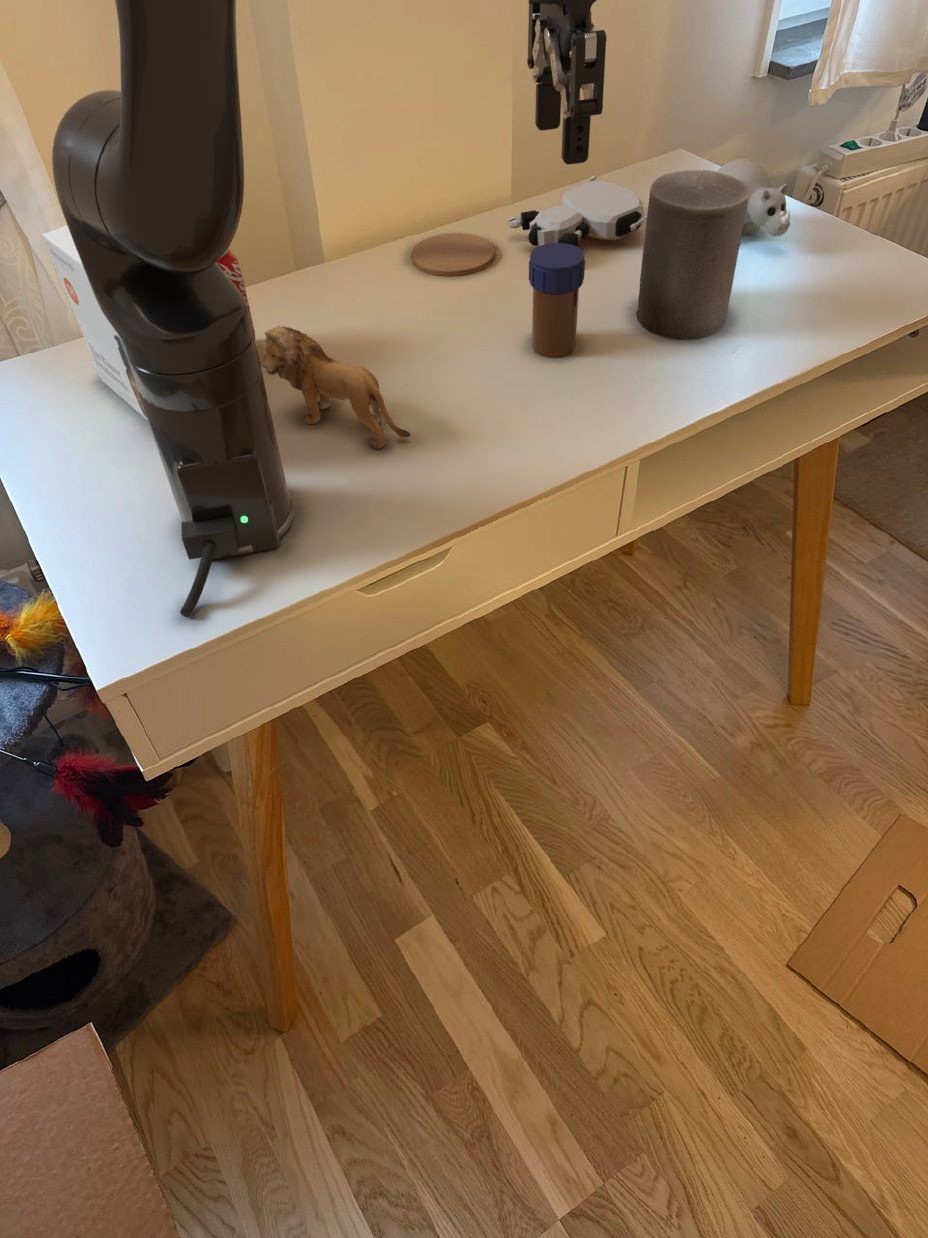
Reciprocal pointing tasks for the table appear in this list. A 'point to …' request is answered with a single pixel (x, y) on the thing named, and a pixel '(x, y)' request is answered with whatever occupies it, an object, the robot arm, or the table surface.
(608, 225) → the robot toy
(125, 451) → the table surface
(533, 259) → the lid
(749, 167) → the toy rhinoceros
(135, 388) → the skincare box
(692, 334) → the pillar candle
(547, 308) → the jar
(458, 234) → the coaster
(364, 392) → the lion figurine
